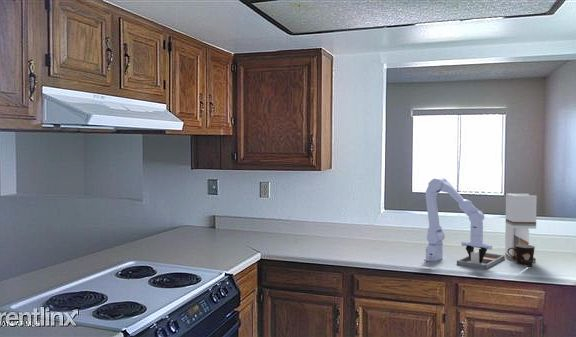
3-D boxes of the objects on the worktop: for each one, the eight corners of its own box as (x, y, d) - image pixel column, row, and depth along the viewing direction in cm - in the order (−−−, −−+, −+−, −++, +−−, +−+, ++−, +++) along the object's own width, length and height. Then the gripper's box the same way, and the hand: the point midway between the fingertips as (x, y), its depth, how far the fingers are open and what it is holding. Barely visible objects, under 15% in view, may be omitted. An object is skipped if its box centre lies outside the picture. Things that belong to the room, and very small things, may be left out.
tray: (485, 271, 209) (485, 265, 209) (456, 266, 219) (456, 260, 219) (504, 261, 229) (504, 255, 229) (477, 256, 239) (477, 251, 239)
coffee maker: (512, 261, 228) (513, 195, 227) (505, 256, 239) (505, 193, 237) (535, 262, 226) (536, 195, 225) (527, 257, 237) (528, 193, 236)
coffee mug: (536, 265, 220) (536, 245, 220) (532, 268, 214) (532, 248, 214) (511, 261, 228) (511, 242, 228) (506, 264, 222) (506, 245, 221)
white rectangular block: (478, 265, 216) (478, 253, 216) (470, 263, 219) (470, 252, 219) (481, 263, 219) (481, 252, 219) (473, 262, 222) (473, 250, 222)
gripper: (494, 235, 217) (494, 262, 217) (465, 232, 227) (464, 257, 227) (489, 237, 211) (489, 265, 212) (459, 234, 221) (459, 260, 222)
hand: (476, 261), depth 219 cm, fingers closed on white rectangular block, 4 cm apart
